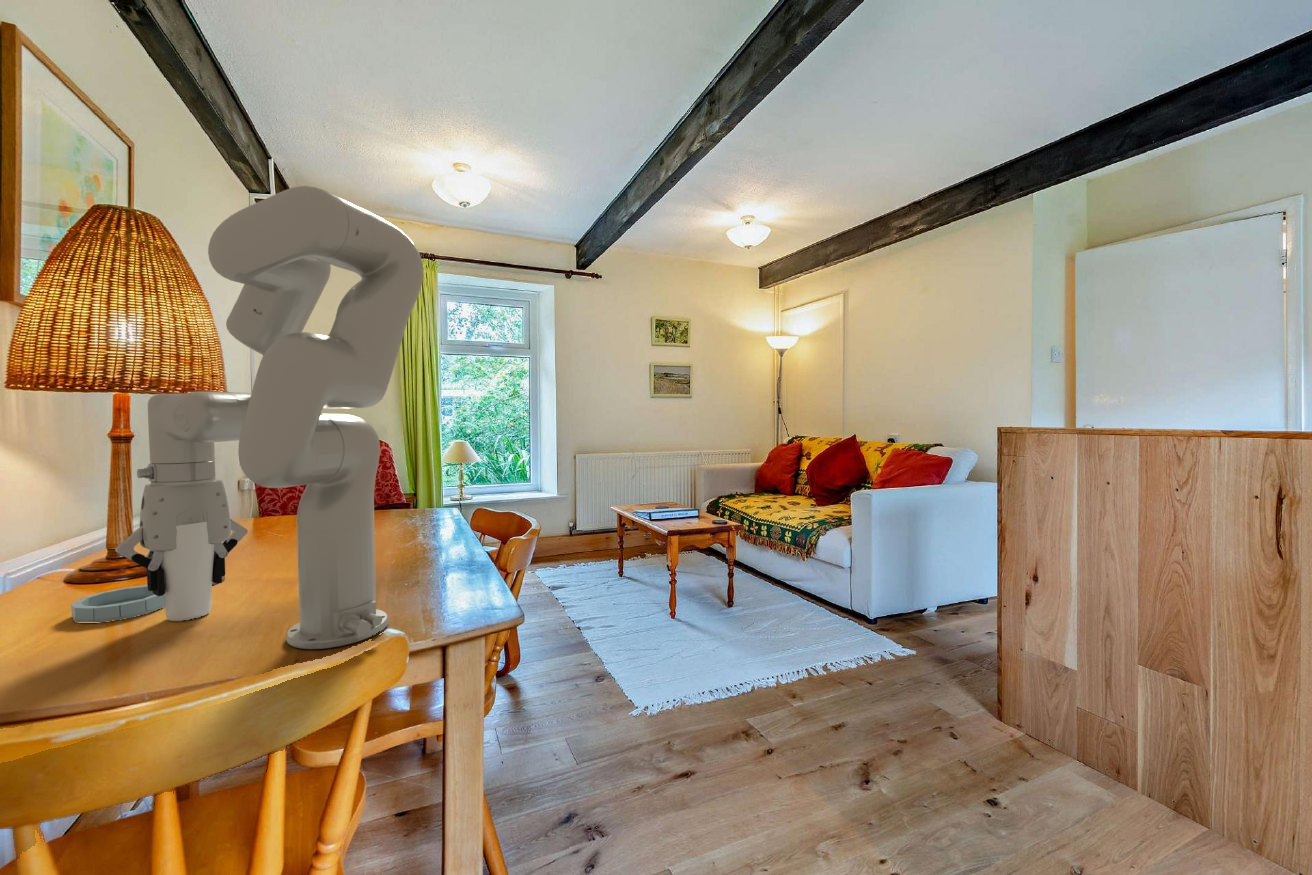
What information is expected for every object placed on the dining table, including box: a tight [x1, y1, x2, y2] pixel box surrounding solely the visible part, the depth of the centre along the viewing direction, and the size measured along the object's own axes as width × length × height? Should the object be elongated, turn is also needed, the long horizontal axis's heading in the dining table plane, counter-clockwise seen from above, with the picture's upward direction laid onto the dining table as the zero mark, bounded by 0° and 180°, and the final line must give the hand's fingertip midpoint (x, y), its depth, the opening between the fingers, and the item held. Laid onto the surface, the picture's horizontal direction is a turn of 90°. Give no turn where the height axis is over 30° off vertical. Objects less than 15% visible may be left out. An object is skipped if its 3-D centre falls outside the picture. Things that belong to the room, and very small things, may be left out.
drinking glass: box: [160, 522, 214, 622], centre depth 83 cm, size 7×7×15 cm
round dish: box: [70, 584, 166, 622], centre depth 85 cm, size 11×11×2 cm
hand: (188, 586), depth 83 cm, fingers closed on drinking glass, 6 cm apart
